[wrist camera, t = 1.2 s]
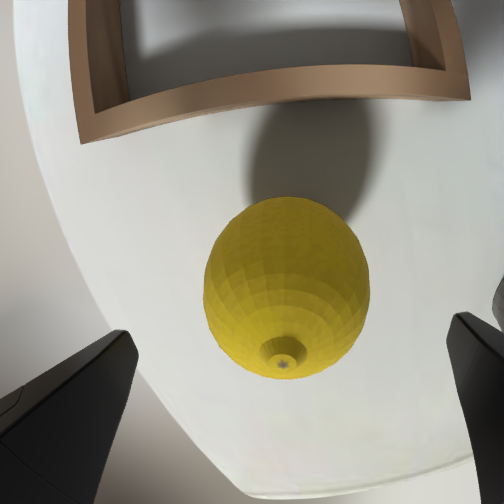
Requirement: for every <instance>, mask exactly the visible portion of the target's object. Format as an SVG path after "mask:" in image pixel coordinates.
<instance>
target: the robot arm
mask: <svg viewBox="0 0 504 504" xmlns="http://www.w3.org/2000/svg"><path fill="white" fill-rule="evenodd" d="M446 343H447V348H448V352H449V357H450V361H451V365H452V370H453V374H454V379H455V384H456V388H457V392H458V396H459V400H460V403H461V406H462V410H463V413H464V417H465V421H466V425H467V429H468V433H469V437H470V441H471V446H472V450H473V455H474V460H475V465H476V471H477V477H478V483H479V489H480V497H481V504H504V333H503V332H501V331H499V330H498V329H496V328H495V327H493V326H491V325H490V324H488V323H486V322H485V321H483V320H481V319H480V318H478V317H476V316H474V315H473V314H471V313H469V312H460V313H456V314H454V316H453V318H452V321H451V325H450V328H449V331H448V335H447V340H446ZM138 358H139V354H138V350H137V348H136V346H135V343H134V341H133V339H132V337H131V335H130V333H129V332H128V331H126V330H114V331H112V332H110V333H109V334H107V335H105V336H104V337H102V338H100V339H99V340H97V341H95V342H94V343H92V344H90V345H89V346H87V347H85V348H84V349H82V350H81V351H79V352H77V353H76V354H74V355H72V356H71V357H69V358H67V359H66V360H64V361H62V362H61V363H59V364H57V365H56V366H54V367H53V368H51V369H49V370H48V371H46V372H44V373H43V374H41V375H39V376H38V377H36V378H34V379H33V380H31V381H30V382H28V383H26V384H25V385H23V386H21V387H20V388H18V389H16V390H15V391H13V392H11V393H9V394H8V395H6V396H4V397H3V398H1V399H0V504H94V501H95V497H96V494H97V491H98V487H99V484H100V481H101V478H102V474H103V471H104V468H105V464H106V462H107V459H108V455H109V452H110V449H111V446H112V443H113V440H114V437H115V435H116V431H117V429H118V426H119V423H120V420H121V417H122V414H123V412H124V409H125V406H126V403H127V400H128V396H129V393H130V389H131V384H132V381H133V377H134V373H135V370H136V366H137V362H138Z"/></svg>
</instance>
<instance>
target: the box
mask: <svg viewBox="0 0 504 504" xmlns="http://www.w3.org/2000/svg"><path fill="white" fill-rule="evenodd" d="M399 2H400V6H401V9H402V13H403V17H404V21H405V25H406V29H407V34H408V38H409V43H410V48H411V54H412V59H413V65H414V67H406V66H392V65H361V64H348V65H318V66H302V67H291V68H281V69H272V70H264V71H257V72H250V73H244V74H238V75H232V76H226V77H221V78H216V79H211V80H206V81H202V82H197V83H193V84H189V85H185V86H181V87H177V88H173V89H169V90H166V91H162V92H159V93H155V94H152V95H149V96H145V97H142V98H139V99H136V100H133V101H130V99H129V92H128V85H127V78H126V70H125V62H124V53H123V43H122V32H121V19H120V2H119V0H68V40H69V59H70V71H71V82H72V91H73V99H74V107H75V114H76V120H77V126H78V132H79V138H80V143H81V144H86V143H90V142H95V141H99V140H104V139H109V138H114V137H119V136H122V135H125V134H129V133H132V132H136V131H139V130H143V129H146V128H150V127H154V126H158V125H162V124H166V123H170V122H174V121H178V120H183V119H187V118H192V117H197V116H201V115H207V114H212V113H217V112H223V111H228V110H234V109H241V108H247V107H254V106H262V105H270V104H278V103H288V102H299V101H311V100H327V99H357V98H382V99H411V100H426V101H468V100H471V95H470V87H469V79H468V72H467V66H466V61H465V55H464V50H463V45H462V41H461V36H460V32H459V28H458V24H457V20H456V16H455V13H454V9H453V6H452V3H451V0H399Z"/></svg>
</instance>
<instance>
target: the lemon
mask: <svg viewBox="0 0 504 504" xmlns="http://www.w3.org/2000/svg"><path fill="white" fill-rule="evenodd" d="M369 301H370V285H369V269H368V264H367V261H366V258H365V255H364V253H363V250H362V248H361V245H360V243H359V240H358V238H357V237H356V235H355V234H354V233H353V231H352V230H351V229H350V227H349V226H348V225H347V224H346V222H345V221H344V220H343V219H342V218H341V217H340V216H338V215H337V214H336V213H334V212H333V211H332V210H330V209H329V208H328V207H326V206H325V205H322V204H320V203H317V202H315V201H312V200H309V199H307V198H299V197H291V196H284V197H276V198H269V199H266V200H263V201H261V202H258V203H256V204H254V205H251V206H249V207H248V208H246V209H245V210H244V211H242V212H241V213H240V214H238V215H237V216H236V217H235V218H233V219H232V220H231V221H230V222H229V224H228V225H227V226H226V227H225V229H224V230H223V231H222V233H221V234H220V235H219V237H218V238H217V240H216V241H215V244H214V246H213V248H212V251H211V254H210V257H209V259H208V262H207V265H206V269H205V275H204V294H203V303H204V309H205V313H206V317H207V321H208V325H209V329H210V331H211V333H212V334H213V336H214V338H215V340H216V341H217V343H218V345H219V346H220V348H221V349H222V350H223V351H224V352H225V353H226V354H227V355H228V356H229V357H230V358H231V359H232V360H233V361H234V362H235V363H237V364H239V365H240V366H242V367H243V368H245V369H246V370H248V371H251V372H253V373H256V374H258V375H261V376H263V377H268V378H274V379H297V378H303V377H307V376H310V375H313V374H316V373H318V372H321V371H323V370H325V369H326V368H328V367H330V366H331V365H333V364H334V363H336V362H337V361H338V360H339V359H341V358H342V357H343V356H344V355H345V354H346V353H347V352H348V351H349V350H350V348H351V347H352V346H353V344H354V342H355V341H356V339H357V338H358V336H359V334H360V333H361V331H362V328H363V326H364V322H365V319H366V315H367V311H368V307H369Z"/></svg>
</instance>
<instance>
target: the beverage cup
mask: <svg viewBox="0 0 504 504" xmlns="http://www.w3.org/2000/svg"><path fill="white" fill-rule="evenodd" d="M492 310H493V314H494V317H495V318H496V319H497V321H498V324H499V326H500V328H501V330H502V332H503V333H504V279H503V280H502V281H501V283H500V285H499V287H498V289H497V291H496V293H495V296H494V299H493V306H492Z"/></svg>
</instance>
